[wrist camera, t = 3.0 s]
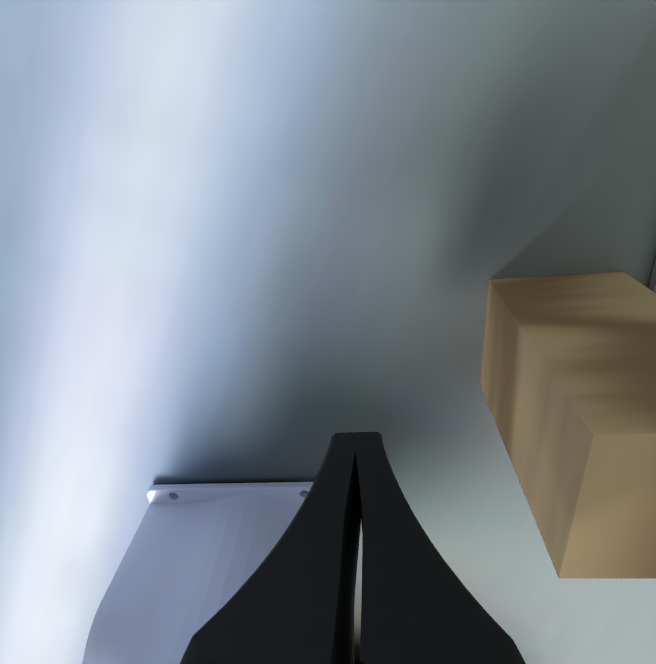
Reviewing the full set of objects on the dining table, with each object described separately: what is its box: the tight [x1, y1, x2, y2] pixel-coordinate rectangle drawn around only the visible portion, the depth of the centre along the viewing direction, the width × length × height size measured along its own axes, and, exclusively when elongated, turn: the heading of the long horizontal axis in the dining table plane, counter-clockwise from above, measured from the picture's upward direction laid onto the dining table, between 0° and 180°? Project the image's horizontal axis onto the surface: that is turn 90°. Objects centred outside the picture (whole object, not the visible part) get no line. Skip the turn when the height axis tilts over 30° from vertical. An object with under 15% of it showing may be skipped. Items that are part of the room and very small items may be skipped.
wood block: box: [480, 271, 656, 578], centre depth 15 cm, size 5×5×9 cm
